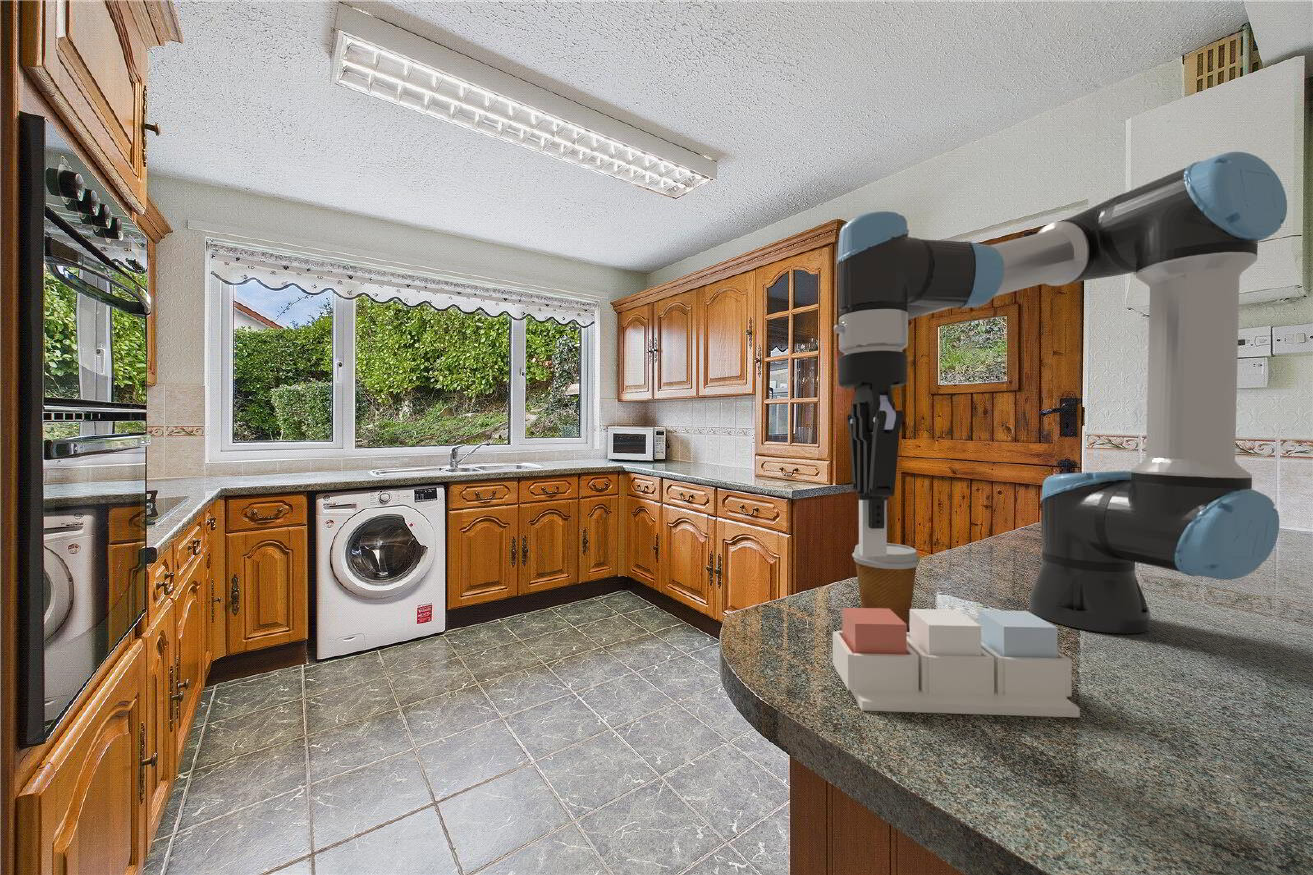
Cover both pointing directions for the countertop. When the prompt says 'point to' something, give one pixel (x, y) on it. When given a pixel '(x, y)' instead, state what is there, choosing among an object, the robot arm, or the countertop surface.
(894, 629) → the brick-red key
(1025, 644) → the pale blue key
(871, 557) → the disposable coffee cup
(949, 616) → the white key
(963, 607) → the countertop surface
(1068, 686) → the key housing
